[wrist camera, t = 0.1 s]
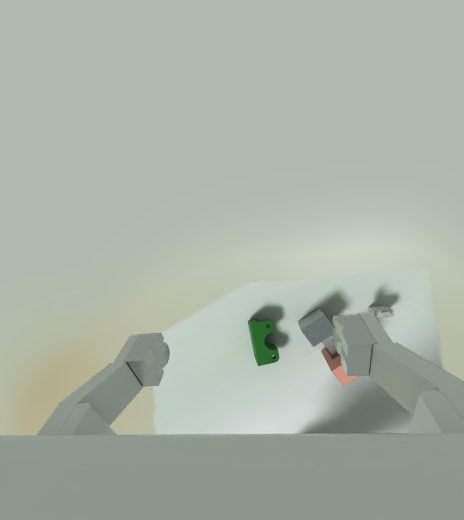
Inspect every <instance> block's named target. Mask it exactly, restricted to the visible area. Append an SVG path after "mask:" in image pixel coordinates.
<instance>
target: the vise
mask: <svg viewBox="0 0 464 520" xmlns="http://www.w3.org/2000/svg"><path fill="white" fill-rule="evenodd" d="M298 324H299V326H300V329H301V331H302V332H303V334H304V335H305V336H306V338H307V339H308V340H309V341H310V343H311V344H312V345H313V347H314V346H316V345H317V344H319V343H320V342H322V343H323V344H324V345H325V347H326V348H327V349H328V351H329V352H330V353H331V355H332V356H333V357H334V358H336V357H338V356H339V355H340V354H339V353H338V352H337V350H336V347H335V344H334V341H333V340H332V338H331V337H330V336H331V335H333V329H334V328H335V327H334V326H333V325H332V323H331V322H330V321H329V319H328V318H327V317H326V316H325V314H324V313H323V312H322V311H321V310H320V309H319V308H318V309H316V310H315V311H313V312H312V313H310V314H309V315H307V316H306V317H304V318H303V319H302V320H300V321H299V322H298Z"/></svg>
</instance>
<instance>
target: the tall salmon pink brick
mask: <svg viewBox="0 0 464 520" xmlns="http://www.w3.org/2000/svg"><path fill="white" fill-rule="evenodd" d="M321 352H322V354H323V356H324V358H325V359H326V361H327V363H328V365H329V367H330V369H331V371H332V373H333V374H334V375H335V376H336V378H337V379H338V380H339V382H340V383H341V384H342V386H344V385H346V384H347V383H349V382H351V381H352V380H354V379H356V378H357V377H359V376H346V373H345V371H344V368H343V366H342V363H341V355H339V356H338V357H336V358H335V359H333V358H332V356H331V355H330V354H329V352H328V351H327V350H326V348H325V349H324V350H322V351H321Z"/></svg>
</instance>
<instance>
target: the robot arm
mask: <svg viewBox="0 0 464 520" xmlns="http://www.w3.org/2000/svg"><path fill="white" fill-rule="evenodd" d="M333 325H334V327H335V328H334V329H333V339H334V344H335V347H336V350H337V352H338V353H339V354H340V355H341V363H342V366H343V368H344V371H345V373H346V376H370V378H371V379H372V380H374V381H375V382H376V383H377V384H378V385H379V386H380V387H381V388H382V389H383V390H385V391H386V392H387V393H388V394H389V395H390V396H391V397H392V398H393V399H395V400H396V401H397V402H398V403H399V404H400V405H401V406H402V407H403V408H404V409H406V410H407V411H408V412H409V413H410V414H411V415H412V416H413V418H412V421H411V424H410V427H409V430H408V433H345V434H170V435H116V433H115V431H114V430H113V429H112V428H111V427H110V425H111V424H112V422H113V421H114V420H115V419H116V418H117V417H118V416H119V414H120V413H121V412H122V411H123V410H124V409H125V408H126V406H127V405H128V404H129V403H130V402H131V401H132V400H133V398H134V397H135V396H136V395H137V394H138V393H139V391H140V390H141V389H142V388H143V387H146V386H159V384H160V381H161V379H162V376H163V374H164V371H163V367H164V366H165V365H166V364H167V363H168V360H169V354H170V351H169V347H168V345H167V344H166V343H165V342H163V339H164V337H163V335H162V334H161V333H150V334H139V335H132V336H130V337H129V338H128V340H127V341H126V343H125V345H124V346H123V348H122V350H121V351H120V353H119V354H118V356H117V358H116V359H115V361H114V363H110V364H109V365H108V366H106V367H105V368H104V369H102V370H101V371H100V372H99V373H97V374H96V375H95V376H93V377H92V378H91V379H90V380H89V381H87V382H86V383H85V384H83V385H82V386H81V387H79V388H78V389H77V390H76V391H74V392H73V393H72V394H71V395H69V396H68V397H67V398H66V399H64V400H63V401H62V402H60V403H59V405H58V407H57V408H56V409H55V410H54V412H53V413H52V415H51V416H50V417H49V419H48V420H47V421H46V423H45V424H44V425H43V427H42V428H41V430H40V431H39V433H38V434H37V435H3V436H2V435H0V520H464V381H462V380H460V379H458V378H457V377H455V376H453V375H451V374H450V373H448V372H446V371H445V370H443V369H441V368H440V367H438V366H436V365H434V364H433V363H431V362H429V361H428V360H426V359H424V358H422V357H421V356H419V355H417V354H416V353H414V352H412V351H411V350H409V349H407V348H405V347H404V346H402V345H400V344H399V343H393V342H392V341H391V339H390V338H389V336H388V335H387V333H386V332H385V330H384V329H383V327H382V326H381V324H380V323H379V321H378V320H377V318H376V317H375V315H374V314H373V313H371V312H367V313H358V314H349V315H339V316H333Z"/></svg>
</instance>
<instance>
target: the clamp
mask: <svg viewBox="0 0 464 520" xmlns="http://www.w3.org/2000/svg"><path fill="white" fill-rule="evenodd" d="M267 324H269V326H267V327H266V325H267ZM248 325H249V330H250V335H251V340H252V345H253V351H254V356H255V359H256V362H257V364H258V366H261V365H265V364H270V363H274V362H277V361H278V360H279V353H278V349H277V347H276V346H275V345H274V343H273V344H266V343H265V342H264V341H265V337H266V336H267V335H268V334H269V333H272V332H274V327H273V324H272V322H271V321H269V320H263V321H259V322H257V321H256V320H255V319H254V320H249V321H248ZM273 355H275V356H274V357H272V356H273Z"/></svg>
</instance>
